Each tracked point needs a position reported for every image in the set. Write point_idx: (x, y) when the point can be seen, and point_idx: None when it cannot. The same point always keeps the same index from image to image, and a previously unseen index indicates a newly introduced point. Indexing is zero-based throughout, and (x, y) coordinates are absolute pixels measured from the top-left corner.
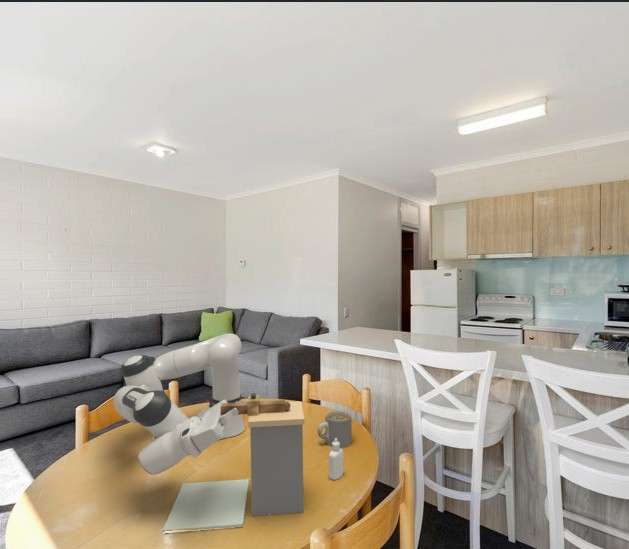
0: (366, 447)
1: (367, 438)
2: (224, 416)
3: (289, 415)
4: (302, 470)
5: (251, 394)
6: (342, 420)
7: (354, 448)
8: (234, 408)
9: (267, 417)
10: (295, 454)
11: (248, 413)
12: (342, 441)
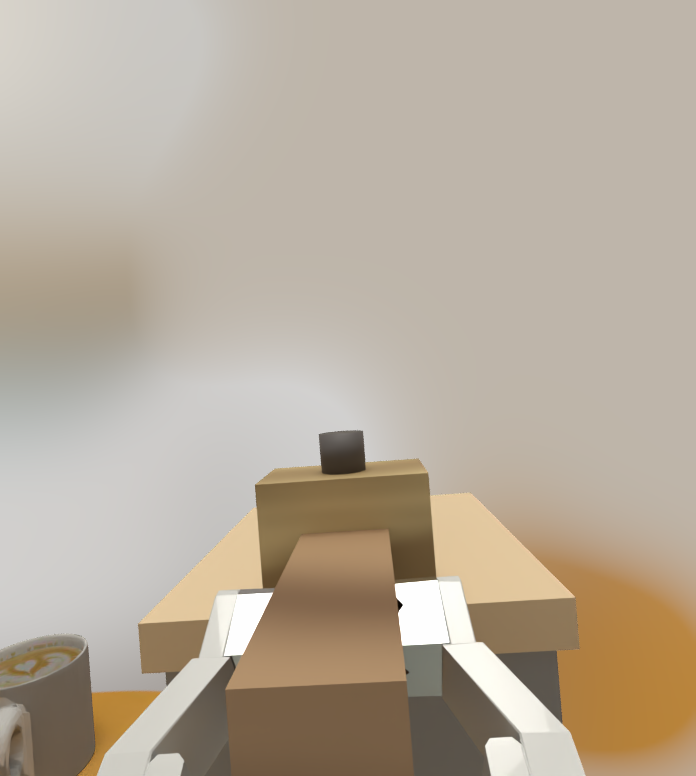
0: (142, 700)
1: (93, 692)
2: (563, 736)
3: (432, 511)
4: None
5: (351, 433)
6: (58, 662)
7: (124, 728)
8: (453, 580)
9: (464, 548)
10: None
11: None
12: (89, 734)
